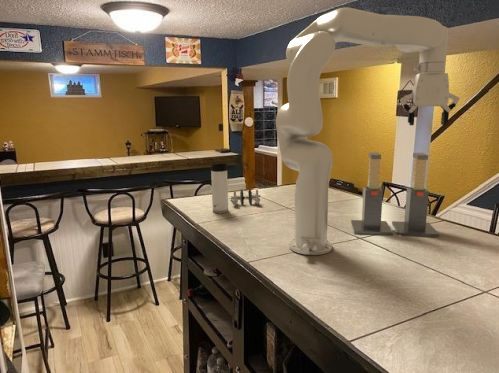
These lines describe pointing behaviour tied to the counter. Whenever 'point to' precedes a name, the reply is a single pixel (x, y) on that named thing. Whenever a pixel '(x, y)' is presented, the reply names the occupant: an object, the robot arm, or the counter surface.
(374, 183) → the column
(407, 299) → the counter surface
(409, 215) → the sleeve
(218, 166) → the travel mug
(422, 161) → the column
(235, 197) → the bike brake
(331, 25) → the robot arm
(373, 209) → the sleeve
